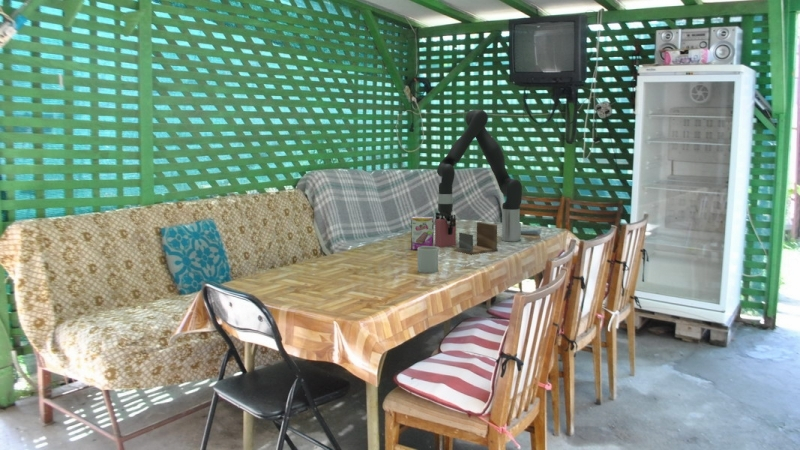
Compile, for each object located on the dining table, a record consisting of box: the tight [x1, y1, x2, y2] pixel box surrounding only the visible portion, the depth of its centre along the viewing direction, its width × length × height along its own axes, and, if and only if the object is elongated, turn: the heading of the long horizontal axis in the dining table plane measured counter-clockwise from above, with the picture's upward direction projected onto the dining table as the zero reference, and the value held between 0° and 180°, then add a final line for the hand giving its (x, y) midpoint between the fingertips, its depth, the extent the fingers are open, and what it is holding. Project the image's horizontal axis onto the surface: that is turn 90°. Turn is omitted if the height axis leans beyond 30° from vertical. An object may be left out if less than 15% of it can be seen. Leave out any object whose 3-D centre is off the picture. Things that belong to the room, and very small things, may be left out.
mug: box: [416, 245, 439, 274], centre depth 288 cm, size 11×10×10 cm
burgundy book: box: [434, 218, 457, 248], centre depth 348 cm, size 10×4×14 cm, turn 123°
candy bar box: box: [410, 216, 435, 251], centre depth 337 cm, size 11×5×16 cm, turn 84°
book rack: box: [453, 221, 498, 256], centre depth 332 cm, size 17×13×13 cm
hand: (445, 233), depth 348 cm, fingers open, 8 cm apart
